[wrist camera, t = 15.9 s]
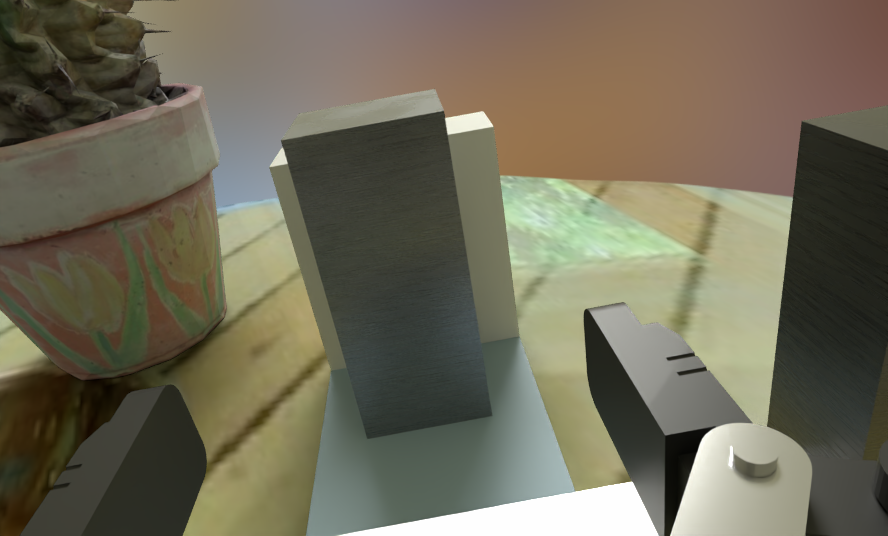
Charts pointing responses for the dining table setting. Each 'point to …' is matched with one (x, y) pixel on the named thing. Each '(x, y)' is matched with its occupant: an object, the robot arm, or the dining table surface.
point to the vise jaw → (798, 341)
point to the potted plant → (103, 192)
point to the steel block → (392, 258)
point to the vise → (447, 446)
